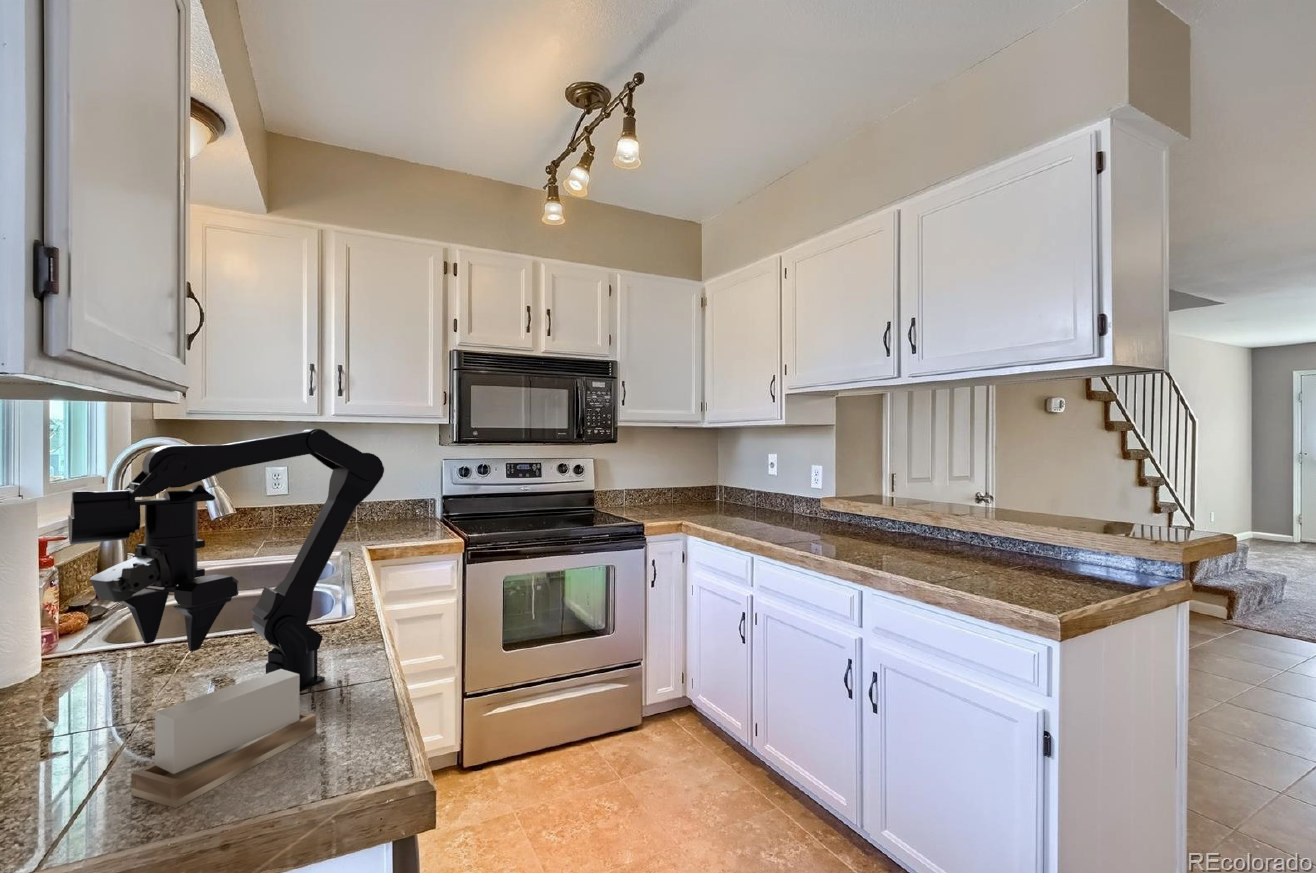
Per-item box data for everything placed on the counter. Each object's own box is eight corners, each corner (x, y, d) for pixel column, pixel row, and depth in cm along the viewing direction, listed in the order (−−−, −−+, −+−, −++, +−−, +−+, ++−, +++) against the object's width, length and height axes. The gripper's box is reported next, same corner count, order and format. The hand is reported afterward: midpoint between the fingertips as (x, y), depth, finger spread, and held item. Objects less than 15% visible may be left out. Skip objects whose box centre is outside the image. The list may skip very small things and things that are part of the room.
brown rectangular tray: (276, 724, 82) (276, 706, 82) (316, 732, 80) (316, 714, 80) (131, 795, 66) (131, 773, 66) (176, 808, 63) (176, 785, 63)
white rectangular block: (280, 713, 80) (280, 668, 80) (299, 720, 78) (299, 674, 78) (154, 764, 67) (155, 711, 67) (173, 774, 66) (173, 719, 66)
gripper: (56, 540, 79) (56, 658, 79) (151, 549, 73) (151, 677, 73) (151, 528, 90) (151, 632, 90) (241, 535, 84) (241, 647, 84)
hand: (171, 646), depth 84 cm, fingers open, 9 cm apart
